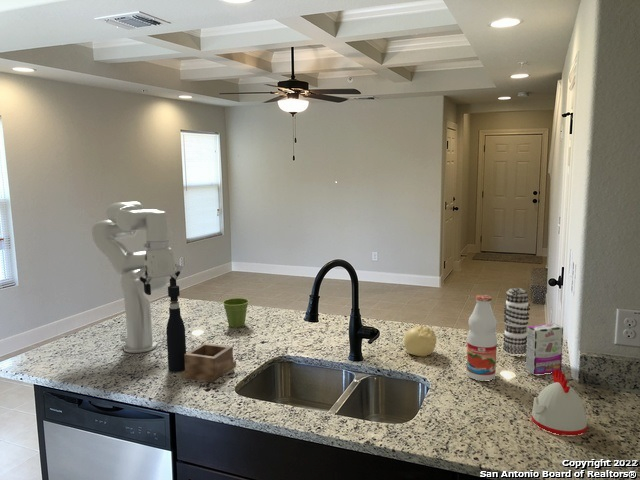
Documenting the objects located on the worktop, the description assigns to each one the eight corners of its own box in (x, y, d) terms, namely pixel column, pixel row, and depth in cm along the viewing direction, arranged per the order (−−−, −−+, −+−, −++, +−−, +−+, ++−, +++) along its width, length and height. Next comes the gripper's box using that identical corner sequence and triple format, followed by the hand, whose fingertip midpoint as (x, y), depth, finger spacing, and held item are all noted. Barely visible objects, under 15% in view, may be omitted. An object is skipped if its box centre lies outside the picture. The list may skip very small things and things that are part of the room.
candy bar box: (551, 367, 180) (554, 322, 178) (561, 373, 176) (564, 327, 173) (524, 371, 177) (526, 325, 175) (533, 377, 173) (536, 330, 170)
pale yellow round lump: (434, 360, 188) (434, 332, 186) (401, 357, 192) (402, 329, 190) (437, 350, 198) (438, 323, 197) (406, 346, 202) (407, 320, 201)
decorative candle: (533, 356, 191) (536, 291, 188) (512, 358, 189) (515, 293, 185) (517, 347, 200) (520, 285, 196) (496, 350, 198) (499, 287, 194)
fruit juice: (496, 373, 176) (500, 294, 172) (493, 384, 167) (497, 301, 163) (468, 369, 179) (471, 291, 175) (464, 379, 171) (466, 298, 167)
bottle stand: (181, 377, 175) (180, 356, 174) (207, 360, 190) (206, 341, 189) (212, 382, 171) (211, 360, 170) (236, 364, 185) (235, 344, 184)
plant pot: (221, 323, 235) (220, 299, 234) (247, 320, 239) (246, 297, 237) (224, 330, 224) (224, 305, 222) (251, 328, 228) (251, 303, 226)
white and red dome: (570, 411, 149) (573, 362, 146) (597, 436, 135) (601, 382, 133) (523, 412, 148) (525, 363, 146) (545, 437, 134) (548, 383, 132)
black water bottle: (181, 372, 179) (177, 289, 174) (165, 371, 180) (160, 288, 176) (190, 365, 185) (186, 284, 181) (173, 364, 186) (169, 284, 182)
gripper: (139, 249, 175) (142, 298, 177) (185, 243, 186) (187, 289, 189) (130, 247, 180) (133, 294, 182) (175, 241, 192) (177, 286, 194)
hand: (160, 291), depth 186 cm, fingers open, 9 cm apart
